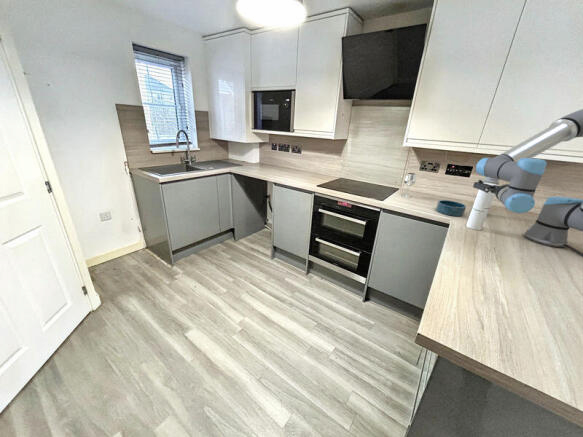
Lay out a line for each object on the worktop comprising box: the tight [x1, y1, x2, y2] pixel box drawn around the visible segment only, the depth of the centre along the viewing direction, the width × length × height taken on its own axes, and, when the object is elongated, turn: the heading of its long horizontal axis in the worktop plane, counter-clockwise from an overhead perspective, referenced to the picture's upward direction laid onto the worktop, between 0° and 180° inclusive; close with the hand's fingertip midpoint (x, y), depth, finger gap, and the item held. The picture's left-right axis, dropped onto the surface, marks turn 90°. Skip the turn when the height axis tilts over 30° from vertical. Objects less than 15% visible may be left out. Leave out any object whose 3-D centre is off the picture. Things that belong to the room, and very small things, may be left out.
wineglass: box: [401, 172, 417, 198], centre depth 185 cm, size 8×8×18 cm
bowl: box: [435, 199, 467, 217], centre depth 154 cm, size 16×16×6 cm
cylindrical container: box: [465, 183, 499, 231], centre depth 128 cm, size 7×7×25 cm
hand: (495, 184), depth 115 cm, fingers open, 13 cm apart
